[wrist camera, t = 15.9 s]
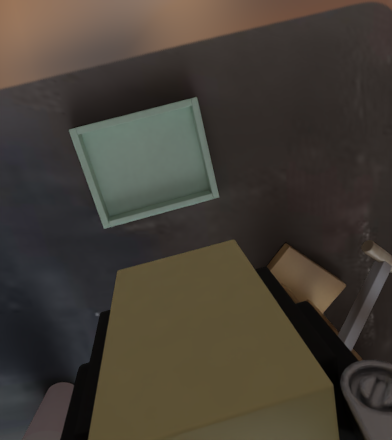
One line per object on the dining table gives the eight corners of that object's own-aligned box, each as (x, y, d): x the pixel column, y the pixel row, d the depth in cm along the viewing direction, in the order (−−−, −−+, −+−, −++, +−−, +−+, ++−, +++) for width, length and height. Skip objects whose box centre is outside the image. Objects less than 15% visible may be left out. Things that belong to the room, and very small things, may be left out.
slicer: (285, 242, 37) (353, 307, 24) (341, 280, 39) (427, 356, 27) (220, 324, 39) (254, 420, 27) (277, 354, 41) (332, 455, 29)
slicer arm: (359, 238, 30) (381, 241, 28) (393, 264, 32) (417, 269, 30) (293, 368, 29) (311, 383, 27) (333, 390, 30) (353, 405, 28)
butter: (116, 270, 10) (82, 461, 4) (234, 238, 10) (335, 384, 5) (161, 399, 11) (174, 648, 6) (261, 369, 11) (356, 585, 6)
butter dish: (193, 97, 31) (197, 96, 29) (215, 192, 34) (219, 197, 32) (73, 128, 30) (68, 129, 28) (106, 221, 33) (103, 229, 31)
